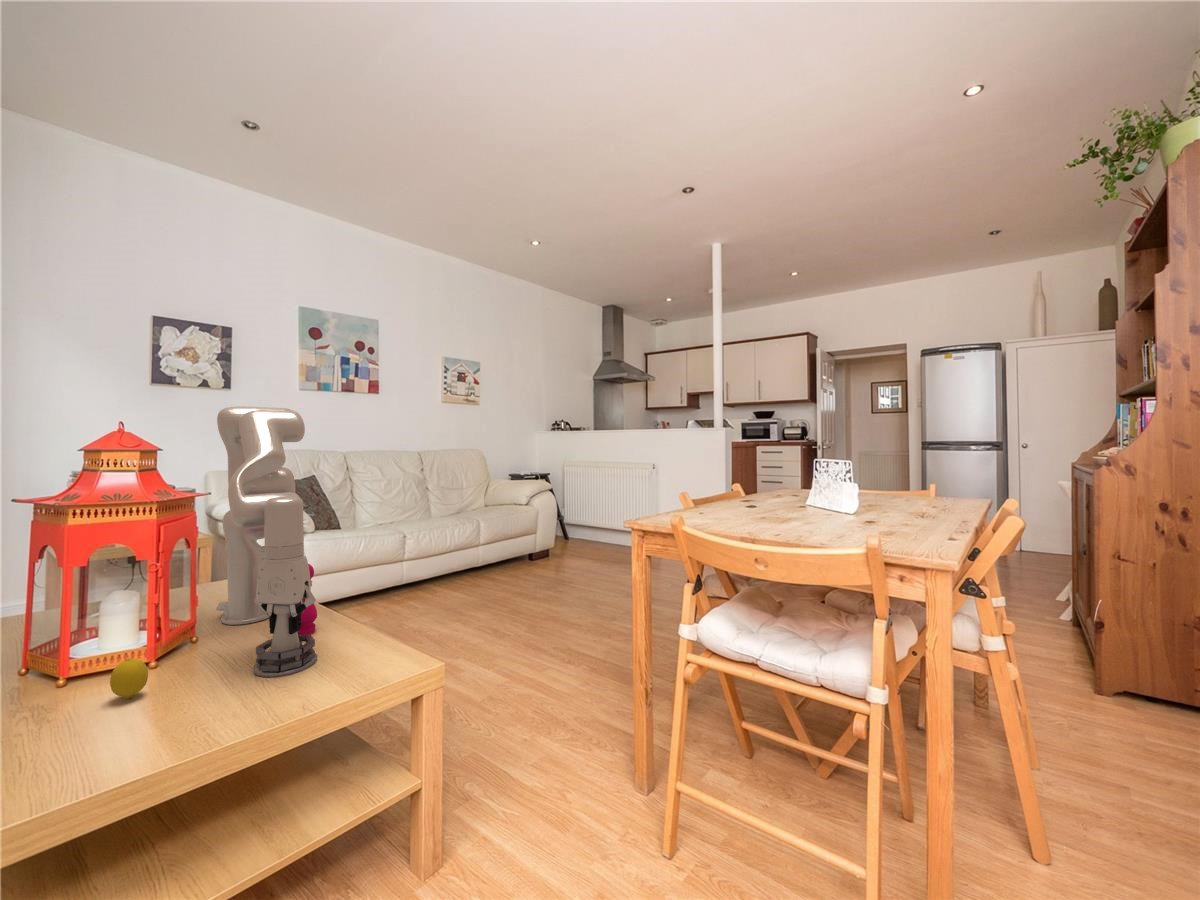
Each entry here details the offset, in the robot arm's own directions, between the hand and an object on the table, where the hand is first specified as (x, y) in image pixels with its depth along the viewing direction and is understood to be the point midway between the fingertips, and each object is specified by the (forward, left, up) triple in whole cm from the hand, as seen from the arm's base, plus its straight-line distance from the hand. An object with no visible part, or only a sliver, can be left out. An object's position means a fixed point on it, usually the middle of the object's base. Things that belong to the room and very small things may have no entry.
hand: (285, 630), depth 116 cm
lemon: (-21, -16, -8) cm, 28 cm away
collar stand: (0, 0, -8) cm, 8 cm away
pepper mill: (-8, +18, -8) cm, 21 cm away
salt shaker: (0, 0, -6) cm, 6 cm away
